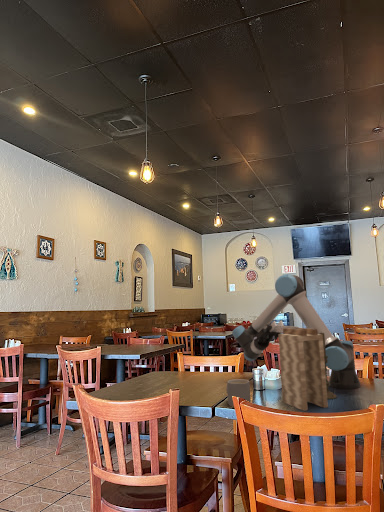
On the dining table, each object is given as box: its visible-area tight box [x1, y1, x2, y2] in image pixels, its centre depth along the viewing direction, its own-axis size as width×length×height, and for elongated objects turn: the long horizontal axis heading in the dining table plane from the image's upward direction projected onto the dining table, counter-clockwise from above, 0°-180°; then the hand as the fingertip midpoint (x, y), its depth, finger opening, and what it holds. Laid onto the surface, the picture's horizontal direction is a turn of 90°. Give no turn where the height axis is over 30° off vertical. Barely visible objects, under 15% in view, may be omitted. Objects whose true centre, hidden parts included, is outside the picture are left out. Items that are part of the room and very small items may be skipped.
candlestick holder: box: [320, 332, 338, 400], centre depth 182 cm, size 9×9×30 cm
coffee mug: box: [226, 378, 252, 407], centre depth 175 cm, size 13×10×10 cm
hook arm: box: [266, 323, 299, 334], centre depth 187 cm, size 23×4×4 cm, turn 18°
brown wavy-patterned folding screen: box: [278, 327, 329, 412], centre depth 171 cm, size 16×12×32 cm
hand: (278, 323), depth 190 cm, fingers closed on hook arm, 3 cm apart
